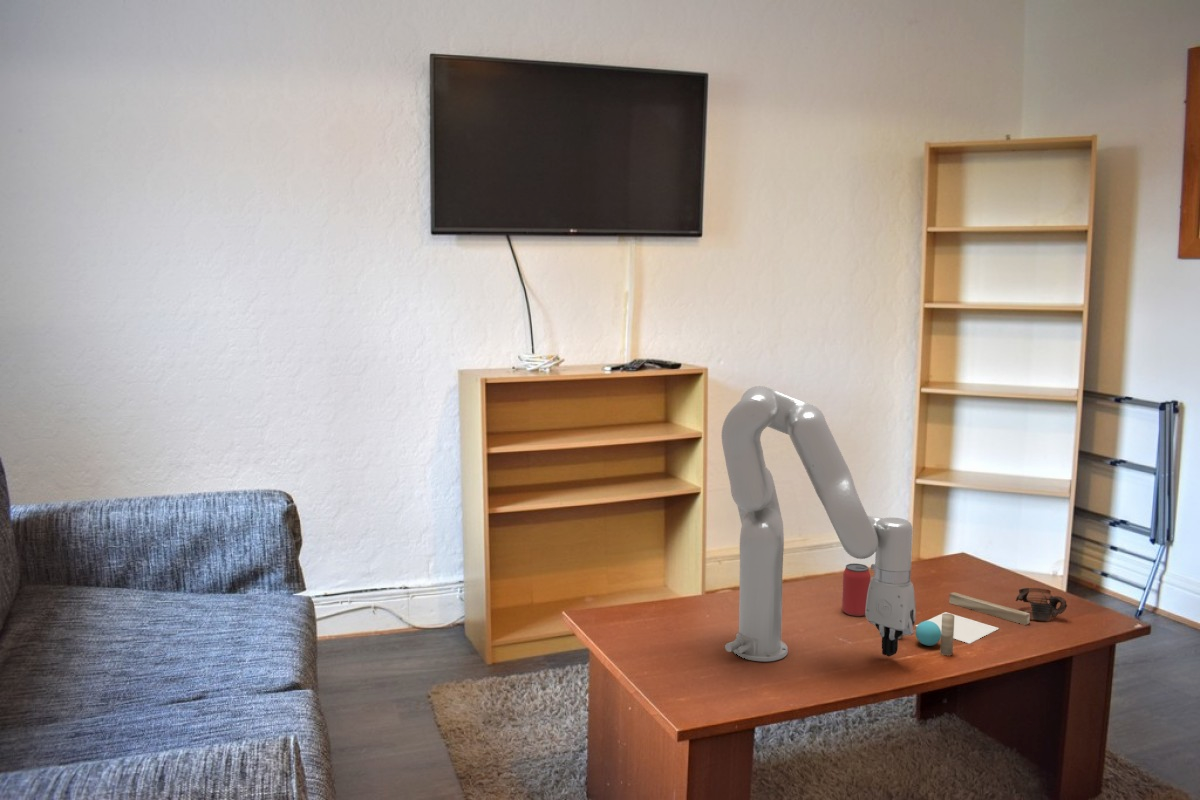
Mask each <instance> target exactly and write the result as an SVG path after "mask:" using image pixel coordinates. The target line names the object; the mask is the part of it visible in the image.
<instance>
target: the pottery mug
mask: <svg viewBox="0 0 1200 800" xmlns="http://www.w3.org/2000/svg"><path fill="white" fill-rule="evenodd" d="M1018 592H1019V594H1018V595H1017V597H1016V598H1015V602H1018V601H1020V602H1023V603H1029V604H1030V606H1031V609H1029V610H1024V611H1023V612H1026V613H1029V614H1030V619H1029V621H1030V620H1031V621H1035V620H1036V621H1041V622H1049V623H1050V621H1051V617H1052V618H1054V619H1055V618H1056V617H1057V615H1060V614H1063V613H1064V612H1065V611H1066V609H1067V607H1068V604H1067V601H1066V599H1065V598H1064V597H1062V596H1059V595H1058V596H1057V595H1056V596H1055V595H1054V596H1053V595H1052V594H1051V590H1050V589H1049V588H1048V589H1047V588H1042V587H1025V588H1024V587H1023V588H1020V589H1019V590H1018ZM1048 601H1049V602H1048ZM1058 604H1060V605H1059V607H1058ZM1057 607H1058V608H1057Z"/></svg>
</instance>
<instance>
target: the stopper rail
mask: <svg viewBox="0 0 1200 800" xmlns="http://www.w3.org/2000/svg"><path fill="white" fill-rule="evenodd" d="M948 597H949V600H948V603H949V604H951V605H955V606H958V607H962V608H964V609H969V610H971V609H972V610H971V611H975V612H978V611H979V613H981V612H983V613H982V614H985V613H986V614H985V615H988V614H989V616H992V617H995V616H996V617H995V618H998V617H1000V618H999V619H1003V620H1005V621H1009V622H1012V623H1015V622H1016V624H1019V623H1020V625H1022V624H1023V626H1027V625H1028V624H1030V620H1029V619H1030V614H1029V613H1026V612H1024V611H1023V610H1018V609H1015V608H1012V607H1008V606H1004V605H1001V604H998V603H995V602H994V603H993V602H990V601H986V600H982V599H980V598H975V597H972V596H968V595H966V594H963V593H962V594H961V593H958V592H955V591H954V592H950V593H949V596H948Z"/></svg>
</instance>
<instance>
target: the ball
mask: <svg viewBox="0 0 1200 800" xmlns="http://www.w3.org/2000/svg"><path fill="white" fill-rule="evenodd" d="M918 624H919V625H918ZM918 624H917V625H918V626H917V627H916V628H915V631H914V632H915V636H916V639H917V641H918V642H919V643H920V644H922V645H923V646H927V647H930V646H935V645H936V644H938V643H939V642H940V641H941V630H940V628H939V627H938V625H937V624H935V623H934V622H931V621H927V620H924V621H923V620H922V621H921V622H919V623H918Z"/></svg>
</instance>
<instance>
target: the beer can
mask: <svg viewBox="0 0 1200 800" xmlns="http://www.w3.org/2000/svg"><path fill="white" fill-rule="evenodd" d="M869 569H870V567H868V566H867V565H866V564H862V563H854V562H853V563H848V564H846V565H845V568H844V570H843V575H842V600H841V601H842V604H841V605H842V606H841V610H842V612H843V613H845V614H846V615H849V616H853V617H864V616H866V614H865V611H866V600H867V593H868V588H869V584H870V580H871V573H870V571H869Z"/></svg>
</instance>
